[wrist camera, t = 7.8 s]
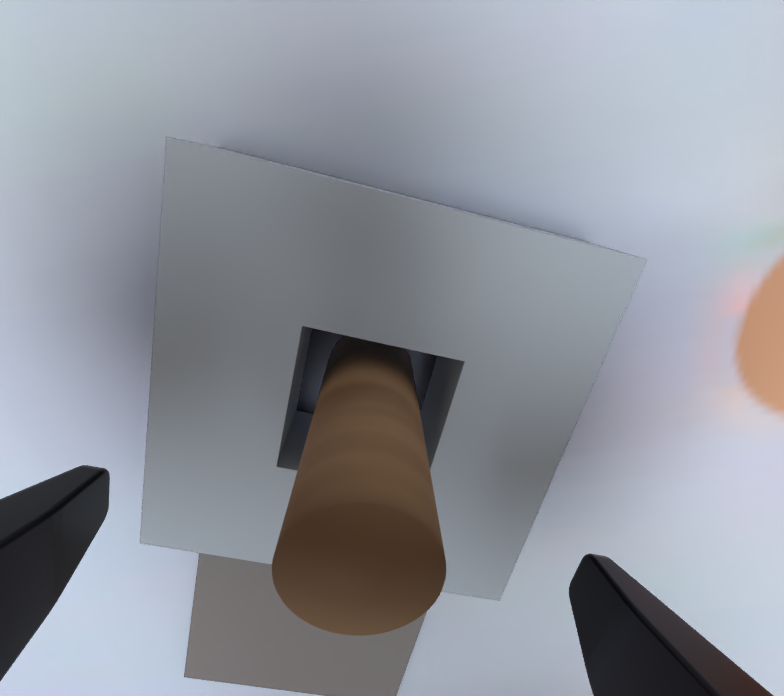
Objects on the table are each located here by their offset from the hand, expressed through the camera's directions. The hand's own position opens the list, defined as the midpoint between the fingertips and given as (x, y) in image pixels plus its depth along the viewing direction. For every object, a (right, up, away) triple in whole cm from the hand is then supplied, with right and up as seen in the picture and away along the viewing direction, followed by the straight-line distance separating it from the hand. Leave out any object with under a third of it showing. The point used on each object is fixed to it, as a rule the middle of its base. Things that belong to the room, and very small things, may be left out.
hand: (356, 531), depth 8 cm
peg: (0, +3, +8) cm, 8 cm away
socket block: (0, +3, +8) cm, 8 cm away
